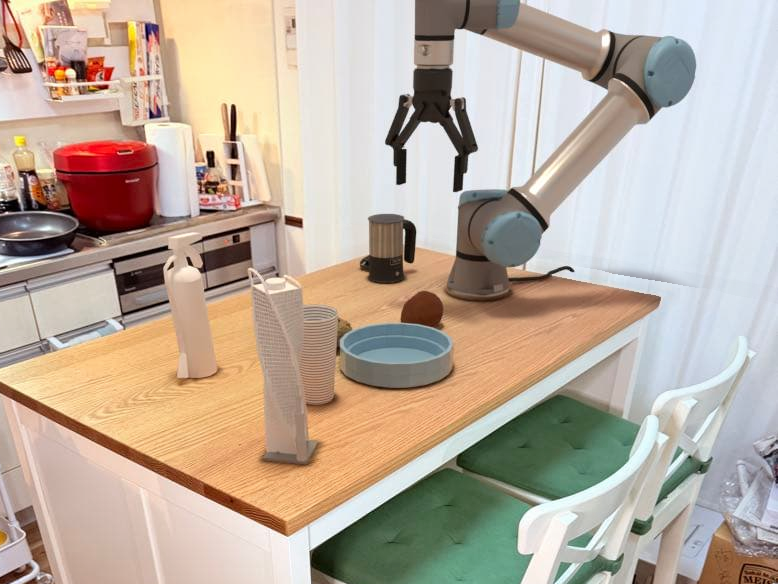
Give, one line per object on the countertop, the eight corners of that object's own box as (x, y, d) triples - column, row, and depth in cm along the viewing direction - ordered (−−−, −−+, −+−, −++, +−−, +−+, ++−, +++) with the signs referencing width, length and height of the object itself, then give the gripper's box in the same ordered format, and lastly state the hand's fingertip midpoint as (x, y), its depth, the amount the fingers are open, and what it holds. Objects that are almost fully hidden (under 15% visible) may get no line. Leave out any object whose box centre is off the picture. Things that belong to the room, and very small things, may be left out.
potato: (390, 331, 165) (390, 294, 161) (422, 318, 172) (423, 282, 168) (418, 340, 161) (419, 302, 157) (450, 325, 168) (452, 288, 164)
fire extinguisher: (161, 381, 144) (137, 242, 130) (201, 359, 153) (183, 227, 138) (190, 388, 141) (169, 247, 127) (229, 365, 150) (213, 231, 136)
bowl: (380, 339, 162) (380, 315, 159) (471, 360, 152) (473, 336, 149) (318, 372, 147) (316, 347, 144) (414, 399, 137) (415, 373, 134)
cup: (296, 388, 141) (290, 304, 132) (342, 388, 141) (340, 304, 132) (290, 407, 134) (284, 320, 125) (339, 408, 134) (336, 321, 125)
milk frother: (391, 286, 192) (392, 223, 183) (339, 276, 199) (338, 215, 190) (420, 272, 202) (422, 212, 193) (369, 263, 209) (369, 205, 200)
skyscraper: (254, 459, 119) (235, 276, 103) (270, 435, 126) (255, 259, 110) (306, 464, 118) (295, 279, 102) (320, 440, 124) (312, 263, 108)
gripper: (368, 65, 150) (368, 183, 162) (482, 70, 138) (473, 197, 150) (389, 63, 155) (388, 178, 167) (501, 68, 143) (491, 191, 156)
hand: (428, 187), depth 159 cm, fingers open, 13 cm apart
